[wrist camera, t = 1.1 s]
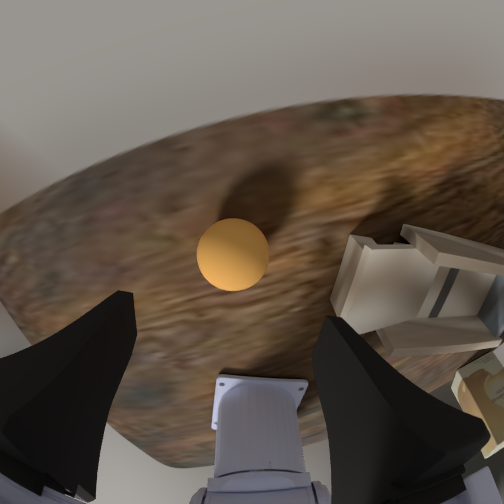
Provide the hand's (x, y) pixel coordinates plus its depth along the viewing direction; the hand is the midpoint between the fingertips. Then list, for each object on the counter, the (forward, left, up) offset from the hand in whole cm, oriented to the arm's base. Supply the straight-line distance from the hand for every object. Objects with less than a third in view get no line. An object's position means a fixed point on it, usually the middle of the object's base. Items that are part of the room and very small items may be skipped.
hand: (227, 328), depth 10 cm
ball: (0, 0, -6) cm, 6 cm away
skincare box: (-13, -31, -8) cm, 35 cm away
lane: (-1, -15, -8) cm, 17 cm away
